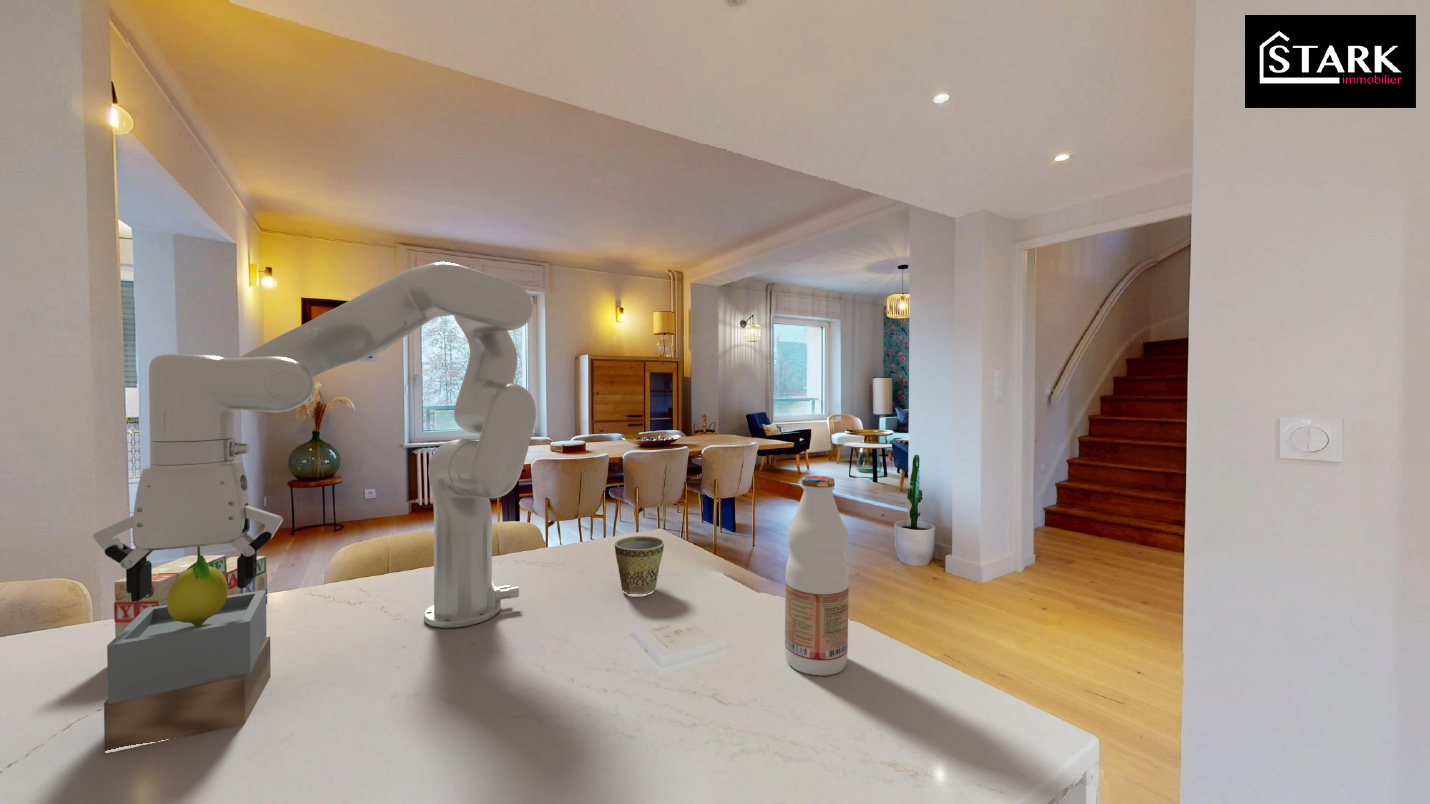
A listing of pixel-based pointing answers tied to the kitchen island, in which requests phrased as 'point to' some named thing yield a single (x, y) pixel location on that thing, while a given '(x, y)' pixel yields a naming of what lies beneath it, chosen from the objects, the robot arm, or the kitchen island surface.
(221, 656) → the tower top block
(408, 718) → the kitchen island surface
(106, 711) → the tower base block
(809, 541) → the fruit juice
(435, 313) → the robot arm
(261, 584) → the stack of blocks
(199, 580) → the lemon
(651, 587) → the ceramic cup
